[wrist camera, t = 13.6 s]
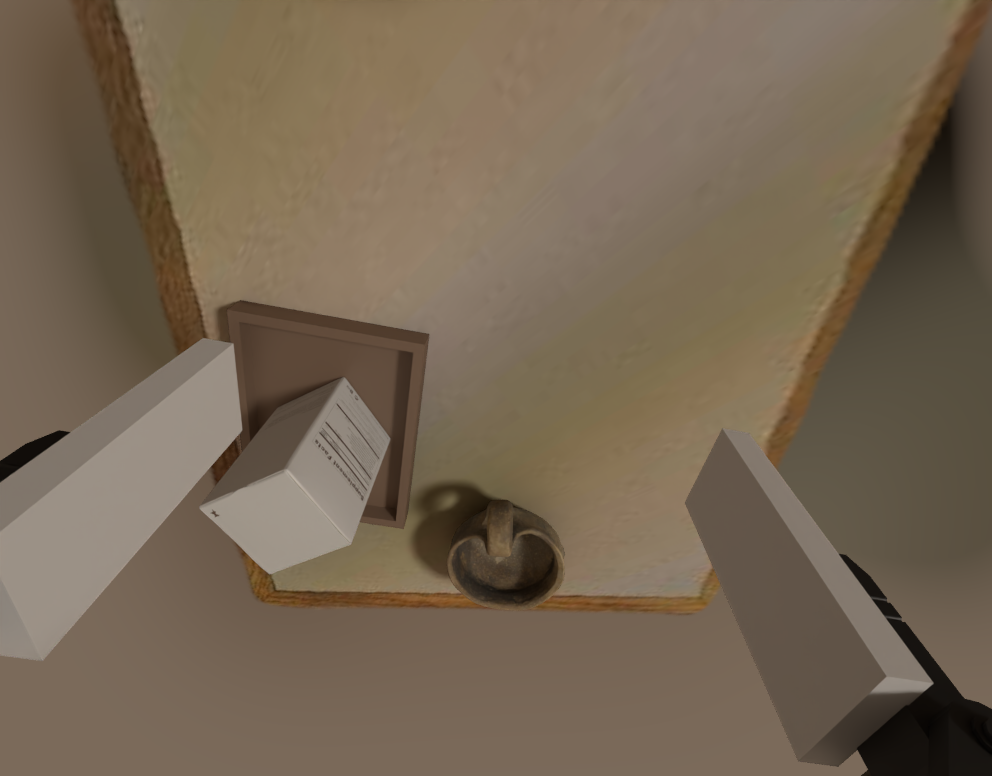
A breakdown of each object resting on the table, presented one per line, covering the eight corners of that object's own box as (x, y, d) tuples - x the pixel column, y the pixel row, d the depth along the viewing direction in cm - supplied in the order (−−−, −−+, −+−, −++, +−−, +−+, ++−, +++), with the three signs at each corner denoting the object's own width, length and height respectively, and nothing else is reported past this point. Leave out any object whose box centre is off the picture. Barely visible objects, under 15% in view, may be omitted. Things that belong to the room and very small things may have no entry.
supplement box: (326, 467, 54) (266, 578, 41) (275, 406, 50) (192, 508, 37) (394, 439, 52) (353, 548, 39) (346, 373, 48) (283, 469, 35)
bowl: (456, 571, 63) (446, 643, 54) (443, 466, 54) (430, 532, 46) (561, 571, 62) (568, 644, 54) (565, 465, 54) (575, 532, 45)
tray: (240, 300, 45) (226, 309, 43) (429, 334, 46) (425, 344, 44) (257, 489, 57) (247, 504, 55) (407, 513, 58) (403, 528, 56)
